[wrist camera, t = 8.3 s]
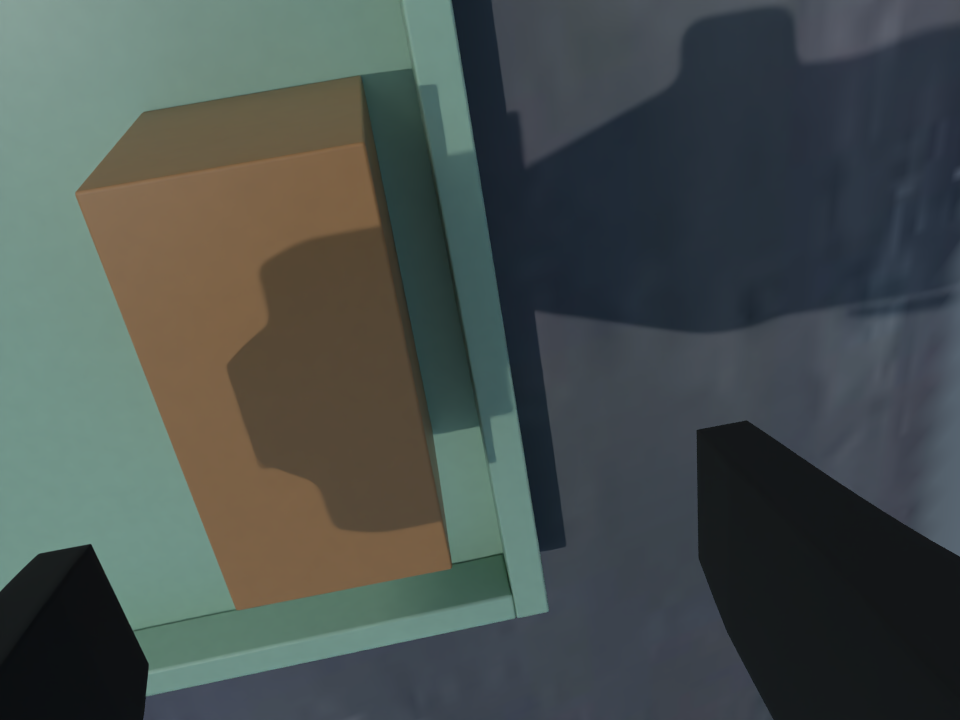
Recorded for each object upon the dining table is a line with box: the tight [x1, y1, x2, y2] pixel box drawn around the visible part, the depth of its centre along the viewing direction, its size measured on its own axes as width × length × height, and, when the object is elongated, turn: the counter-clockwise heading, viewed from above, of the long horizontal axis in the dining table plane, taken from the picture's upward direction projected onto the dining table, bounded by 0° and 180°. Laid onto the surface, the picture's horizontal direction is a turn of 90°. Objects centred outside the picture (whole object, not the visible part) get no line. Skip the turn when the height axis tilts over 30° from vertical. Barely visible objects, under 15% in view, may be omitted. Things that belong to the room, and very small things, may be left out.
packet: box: [75, 76, 452, 610], centre depth 16 cm, size 4×8×4 cm, turn 8°
